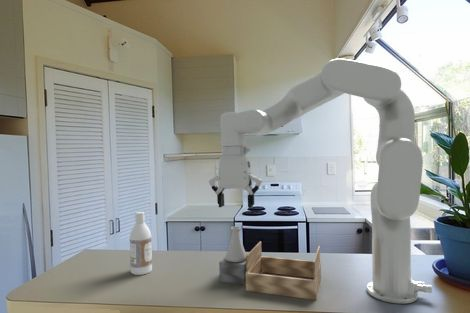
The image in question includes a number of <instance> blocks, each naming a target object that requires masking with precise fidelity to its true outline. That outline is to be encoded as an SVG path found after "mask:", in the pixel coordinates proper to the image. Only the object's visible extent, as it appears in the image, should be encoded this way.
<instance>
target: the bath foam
mask: <svg viewBox="0 0 470 313" xmlns="http://www.w3.org/2000/svg"><path fill="white" fill-rule="evenodd" d="M134 217H135V218H134V219H135V224H134V226H133V227H132V229H131V231H130V233H129V234H130V235H129V252H130V254H129V255H130V261H129V262H130V273H131V274H132V275H134V276H142V275H146V274H149V273H151V272H152V270H153V252H152V250H153V248H152V246H153V245H152V232H151V230H150V229H149V228H150V227H149V226H148V225H147V223H146V222H145V219H146V218H145V212H144V211H137V212H135V216H134Z"/></svg>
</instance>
